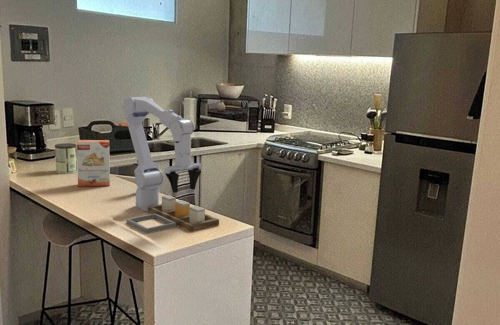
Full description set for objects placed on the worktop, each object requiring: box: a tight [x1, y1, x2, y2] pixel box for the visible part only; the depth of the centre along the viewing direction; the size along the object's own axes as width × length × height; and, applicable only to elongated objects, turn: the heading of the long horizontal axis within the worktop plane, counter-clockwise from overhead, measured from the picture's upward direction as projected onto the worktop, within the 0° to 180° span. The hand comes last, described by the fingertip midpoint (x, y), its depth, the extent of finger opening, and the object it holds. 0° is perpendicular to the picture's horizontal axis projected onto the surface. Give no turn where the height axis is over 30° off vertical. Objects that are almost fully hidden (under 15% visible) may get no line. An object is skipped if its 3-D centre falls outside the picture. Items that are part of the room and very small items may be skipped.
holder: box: [147, 203, 220, 232], centre depth 175 cm, size 28×12×3 cm, turn 42°
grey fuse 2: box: [189, 205, 206, 224], centre depth 168 cm, size 5×3×6 cm, turn 42°
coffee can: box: [54, 142, 78, 175], centre depth 247 cm, size 10×10×14 cm
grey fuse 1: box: [161, 194, 177, 212], centre depth 181 cm, size 5×3×6 cm, turn 42°
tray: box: [125, 213, 177, 234], centre depth 167 cm, size 14×12×2 cm
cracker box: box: [76, 139, 111, 188], centre depth 220 cm, size 14×6×21 cm, turn 105°
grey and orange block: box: [175, 199, 191, 218], centre depth 175 cm, size 5×3×6 cm, turn 42°
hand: (184, 190), depth 173 cm, fingers open, 7 cm apart
